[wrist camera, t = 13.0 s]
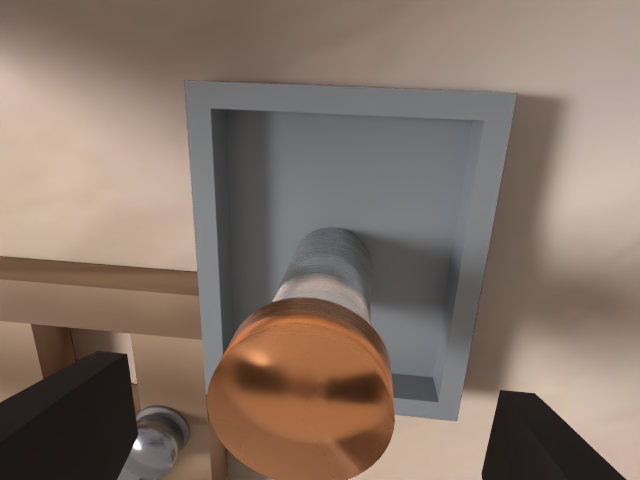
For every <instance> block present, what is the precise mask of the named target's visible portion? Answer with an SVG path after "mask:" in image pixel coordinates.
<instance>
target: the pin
mask: <svg viewBox="0 0 640 480" xmlns="http://www.w3.org/2000/svg"><path fill="white" fill-rule="evenodd" d="M207 410H208V414H209V419H210V421H211V424H212V427H213V429H214V431H215V433H216V435H217V436H218V438H219V439H220V441H221V442H222V444H223V445H224V446H225V447H226V448H227V450H228V451H229V452H230V453H231V454H232V455H233V456H234V457H236V458H237V459H238V460H239V461H240V462H242V463H243V464H245V465H246V466H247V467H249V468H251V469H252V470H254V471H256V472H258V473H260V474H262V475H264V476H267V477H269V478H272V479H275V480H348V479H350V478H352V477H355V476H357V475H359V474H360V473H362V472H364V471H365V470H367V469H368V468H369V467H371V466H372V465H373V464H374V463H375V462H376V461H377V460H378V459H379V458H380V457H381V456H382V454H383V453H384V451H385V450H386V448H387V446H388V444H389V442H390V440H391V437H392V434H393V430H394V422H395V419H394V401H393V386H392V371H391V362H390V357H389V354H388V351H387V349H386V346H385V344H384V343H383V341H382V339H381V337H380V336H379V335H378V333H377V332H376V330H375V329H374V328H373V327H372V326H371V259H370V255H369V252H368V250H367V248H366V246H365V244H364V243H363V242H362V241H361V240H360V239H359V238H358V237H357V236H356V235H354V234H353V233H351V232H349V231H347V230H344V229H341V228H334V227H326V228H321V229H317V230H315V231H313V232H311V233H309V234H308V235H306V236H305V237H304V238H303V239H302V240H301V241H300V243H299V244H298V246H297V248H296V250H295V252H294V254H293V257H292V259H291V261H290V263H289V265H288V268H287V270H286V272H285V274H284V277H283V279H282V281H281V283H280V285H279V288H278V290H277V292H276V294H275V296H274V299H273V301H272V303H270V304H267V305H265V306H263V307H261V308H260V309H258V310H256V311H255V312H253V313H252V314H251V315H250V316H248V317H247V318H246V319H245V320H244V321H243V323H242V324H241V325H240V326H239V328H238V329H237V331H236V332H235V334H234V336H233V338H232V340H231V342H230V344H229V345H228V347H227V349H226V351H225V353H224V355H223V356H222V358H221V360H220V362H219V364H218V366H217V367H216V369H215V371H214V373H213V375H212V378H211V380H210V383H209V387H208V392H207Z"/></svg>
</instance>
